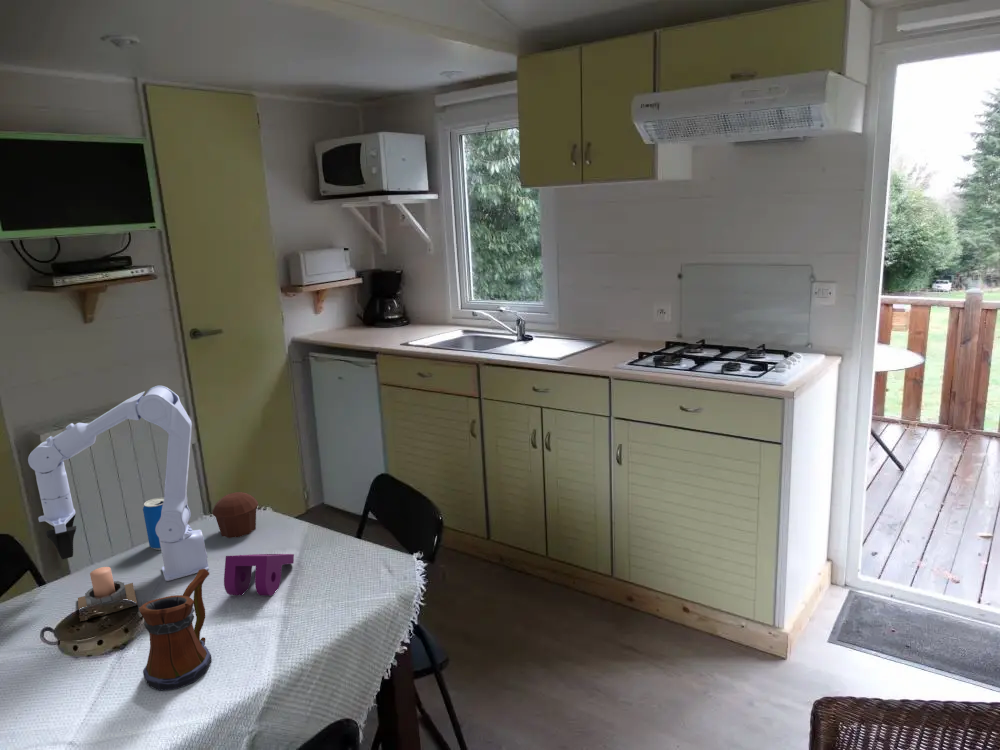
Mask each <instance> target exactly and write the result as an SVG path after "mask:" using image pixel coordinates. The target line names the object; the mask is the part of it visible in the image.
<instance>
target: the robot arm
mask: <svg viewBox="0 0 1000 750" xmlns="http://www.w3.org/2000/svg"><path fill="white" fill-rule="evenodd" d="M145 392H146V393H145ZM144 394H145V395H144ZM141 419H143V420H145V421H146V422H149V423H151V424H153V425H156V426H158V427H160V428H161V429H163V431H165V432H166V433H167V434H168V437H167V438H168V440H167V449H166V450H167V451H166V452H167V453H166V466H165V479H164V493H163V497H164V501H163V506H162V511H161V518H160V520H159V521H158V523H157V525H156V534H157V536H158V537H159V541H160V546H161V550H160V553H161V557H162V563H163V566H161V571H162V574H163V577H164V580H165V582H170V581H174V580H177V579H181V578H184V577H188V576H190V575H194V574H197V573H198V571H199V570H201V569H206V570H207V571H209V569H210V567H209V562H208V553H207V550H206V545H205V539H204V535H203V532H202V529H194V530H193V528H192V527H191V526H190V524H188V523H189V521H190V519H191V515H192V514H191V509H190V508H189V506H188V495H187V493H188V491H187V490H188V482H189V481H188V479H189V470H190V469H189V468H190V455H191V443H192V442H191V441H192V428H193V424H192V423H193V422H192V420H191V418H190V415H188V412H187V411H186V409H185V407H184V406H183V404H182V403H181V400H180V396H179V395H178V394H176V392H175V391H173V390H171V389H170V388H168V387H167V386H164V385H156V386H153V387H151V388H149V389H148V390H147V391H142V392H139V393H137V394H136V395H134V396H131V397H129V398H127V399H126V400H124V401H123V402H120V403H119V404H117V405H116V406H115V407H113V408H111V409H109V410H108V411H107V412H105V413H103V414H102V415H100V416H98V417H97V418H95V419H94V420H92V421H90V422H89V423H87V422H77V423H75V424H74V423H73V422H71V423H69V424H68V425H66V427H65V430H63V431H61V432H60V433H58V434H56V435H55V436H53V435H50V436H49V437H47V438H46V439H45V441H43V442H41V443H40V444H38V445H37V446H36V447H35V448H34V449H33V450H31V452H30V454H29V455H28V458H27V461H28V462H27V463H28V465H29V467H30V469H32V470H33V471H34V474H35V478H36V479H35V480H36V484H37V488H38V493H39V499H40V502H41V507H42V510H43V511H42V512H43V515H40V516H38V518H37V519H38V522H39V523H41V522H46V523H47V524H49V525H50V526H51V527H52V529H50V530H46V532H45V533H46V537H47V538H48V539H49V540H50V541H51V542H52V543H53V545H54V546H55V548H56V551H57V552H58V554H59V557H60V558H61V560H65V559H70V558H72V557H74V537H75V534H76V531H77V525H74V522H75V521H74V520H75V518H76V516H77V515H76V514H77V513H76V509H75V507H74V503H73V498H72V495H71V489H70V484H69V479H68V475H67V471H66V467H65V462H64V461H65V460H69V459H71V458H73V457H74V456H76V455H78V454H79V453H81V452H82V451H84V450H86V449H88V448H90V447H92V446H93V445H94V444H95V443H96V440H97V436H99V435H100V434H102V433H105V432H106V431H108V430H109V429H111V428H113V427H115V426H117V425H119V424H121V423H123V422H124V421H126V420H132V421H140V420H141Z"/></svg>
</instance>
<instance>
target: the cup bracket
mask: <svg viewBox="0 0 1000 750" xmlns="http://www.w3.org/2000/svg"><path fill="white" fill-rule="evenodd" d="M113 582H114V586H115V591H116V592H115V593H113V594H111V595H108V596H104V597H98V598H95V595H94V590H93V587H91V588H89V590H87V591H86V592H85V594H84V595H83V596H80V597H77V605H78V607H77V608H78V609H80V608H82V607H86V606H90V605H94V604H97V603H103V602H107V601H114V600H123V599H128V600H132V601H134V602H136V603H137V604H138V601H137V596H136V591H135V587H134V582H131V583H128V584H127V583H126V584H125V582H122V581H118V580H116V581H114V580H113Z"/></svg>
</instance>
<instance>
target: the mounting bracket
mask: <svg viewBox="0 0 1000 750" xmlns="http://www.w3.org/2000/svg"><path fill="white" fill-rule="evenodd" d="M294 560H295V554H294V553H259V554H258V553H257V554H239V555H225V559H224V561H225V563H224V573H223V585H224V591H225V592H226V594H227V595H229V596H243V595H244V594H245V593H246V592H247V591H248V590H249V588H250V585H251V582H252V574H253V573H252V571H253V567H255V569H254V570H255V574H254V586H255V590H256V593H257V595H258V596H265V597H266V596H272V595H273V594H274V593H275V594H276V592H277V591H278V590H279V588H280V586H281V580H282V568H283V566H284V565H291V564H292V565H293V564H294V562H295V561H294ZM247 589H248V590H247ZM277 589H278V590H277ZM246 590H247V591H246ZM276 590H277V591H276ZM245 591H246V592H245ZM275 591H276V592H275ZM244 592H245V593H244ZM243 593H244V594H243ZM242 594H243V595H242ZM275 594H274V595H275ZM274 595H273V596H274Z"/></svg>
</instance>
